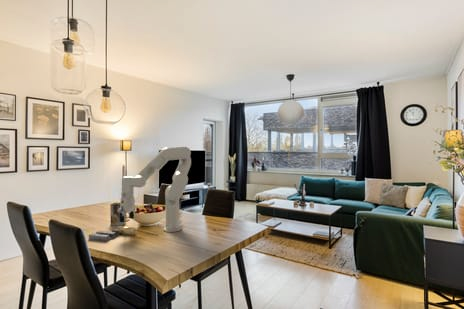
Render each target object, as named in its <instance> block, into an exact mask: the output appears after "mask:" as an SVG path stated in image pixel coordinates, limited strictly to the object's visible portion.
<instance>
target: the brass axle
mask: <svg viewBox="0 0 464 309" xmlns="http://www.w3.org/2000/svg"><path fill="white" fill-rule="evenodd" d="M123 226H124V225H121V226H116V227H115V230H119V235H125V236H127V235H128V236H133V235H136V232H137V231H136V230H137V229H136V227H132V226H124V227H123Z"/></svg>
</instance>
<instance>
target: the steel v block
mask: <svg viewBox="0 0 464 309" xmlns="http://www.w3.org/2000/svg"><path fill="white" fill-rule="evenodd" d="M114 238H117V236H116V232H112V231H108V230H107V231H105V230H98V231H96V232H95V233H90V234H88V240H89V241H97V242H98V241H99V242H108V241H111V240H112V239H114Z"/></svg>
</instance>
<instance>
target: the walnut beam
mask: <svg viewBox="0 0 464 309" xmlns="http://www.w3.org/2000/svg"><path fill="white" fill-rule="evenodd" d="M122 226H123V227H125V226H124V225H122ZM111 232H116V237H119V236H120V234H119V230H116V229H111Z"/></svg>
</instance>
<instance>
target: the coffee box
mask: <svg viewBox="0 0 464 309" xmlns="http://www.w3.org/2000/svg"><path fill="white" fill-rule="evenodd" d="M119 208H120V202H113V203H110V226H116V227H118V226H124V225H125V224H126V222H127V220H126V214H127V213H125V214H124V222H120V216H119V214H118V209H119ZM122 214H123V213H122Z"/></svg>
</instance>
